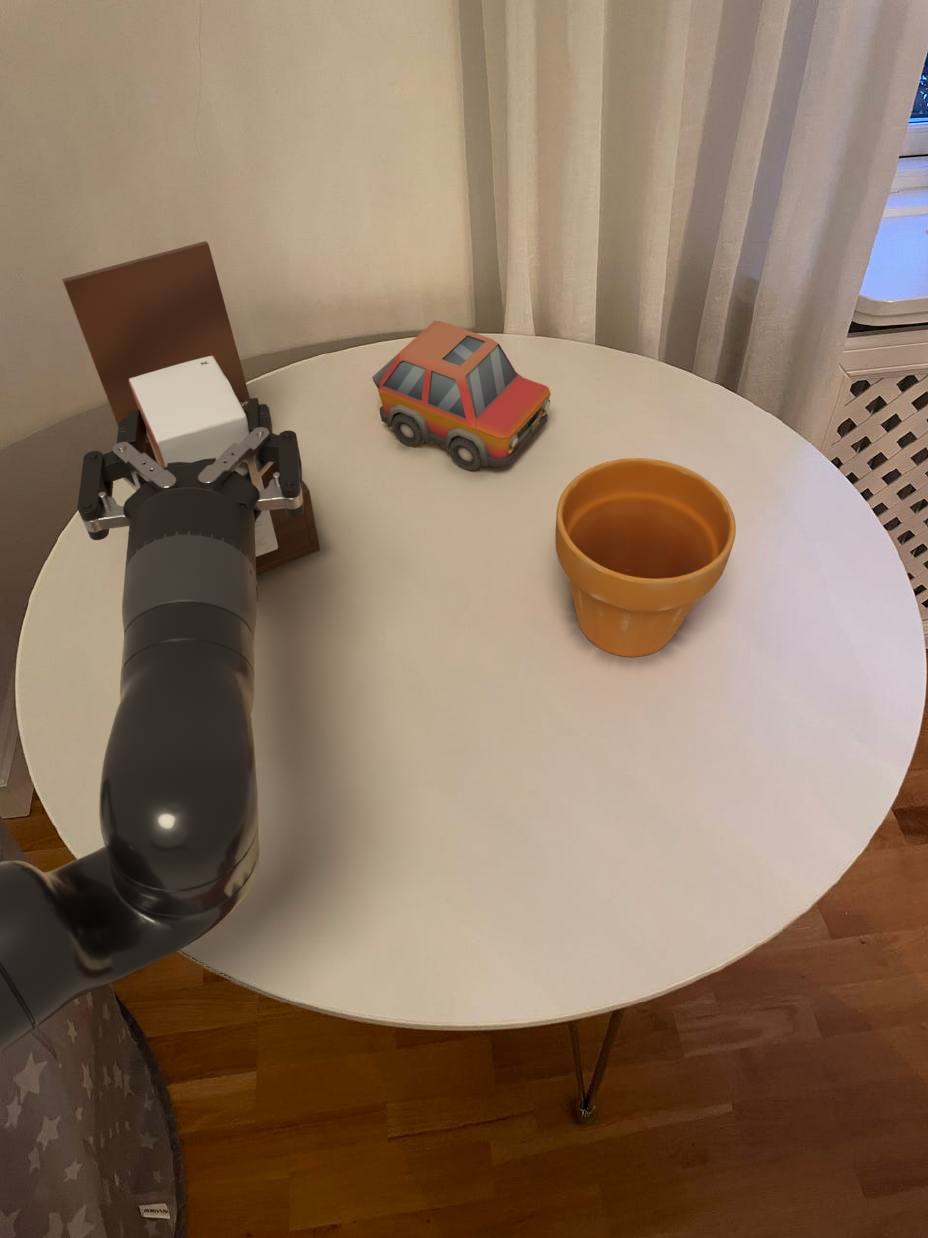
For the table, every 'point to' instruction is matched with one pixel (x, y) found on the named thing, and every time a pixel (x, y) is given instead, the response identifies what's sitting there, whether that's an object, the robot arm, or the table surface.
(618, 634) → the flower pot
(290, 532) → the case
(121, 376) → the lid
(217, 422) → the small box
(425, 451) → the table surface
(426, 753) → the table surface
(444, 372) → the toy car
